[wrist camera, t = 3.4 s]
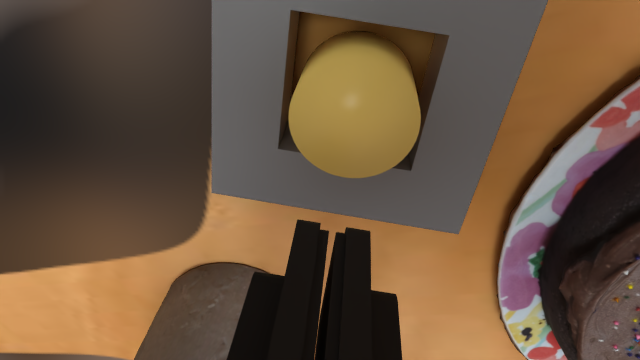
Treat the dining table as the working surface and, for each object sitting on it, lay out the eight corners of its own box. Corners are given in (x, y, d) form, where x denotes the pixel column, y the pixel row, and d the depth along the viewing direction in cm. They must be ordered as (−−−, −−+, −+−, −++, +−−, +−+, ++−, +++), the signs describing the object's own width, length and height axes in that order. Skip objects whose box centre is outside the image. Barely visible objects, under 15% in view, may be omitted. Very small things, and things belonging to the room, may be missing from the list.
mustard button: (426, 41, 18) (436, 69, 15) (399, 146, 21) (403, 187, 18) (307, 22, 18) (295, 46, 15) (295, 129, 21) (283, 167, 18)
